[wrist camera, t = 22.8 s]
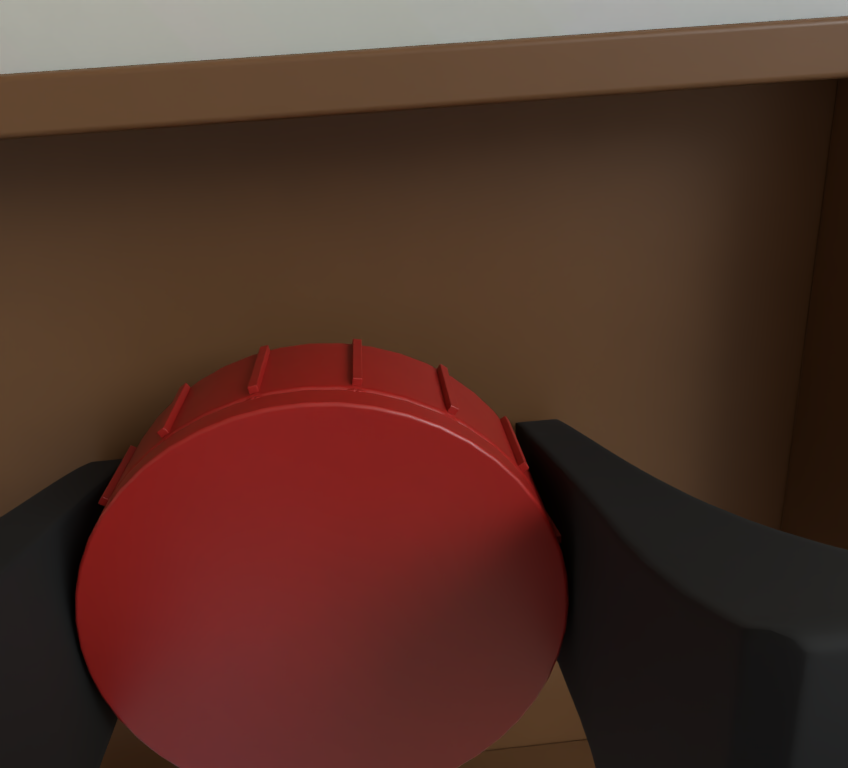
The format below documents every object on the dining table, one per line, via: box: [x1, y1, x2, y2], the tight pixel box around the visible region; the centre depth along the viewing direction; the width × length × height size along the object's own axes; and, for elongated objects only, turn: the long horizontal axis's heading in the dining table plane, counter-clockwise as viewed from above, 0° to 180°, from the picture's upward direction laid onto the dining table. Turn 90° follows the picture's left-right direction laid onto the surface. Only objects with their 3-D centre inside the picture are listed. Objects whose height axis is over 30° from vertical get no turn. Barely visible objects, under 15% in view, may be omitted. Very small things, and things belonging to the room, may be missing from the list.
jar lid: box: [75, 339, 569, 768], centre depth 10 cm, size 6×6×2 cm
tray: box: [0, 16, 848, 768], centre depth 11 cm, size 15×12×2 cm
